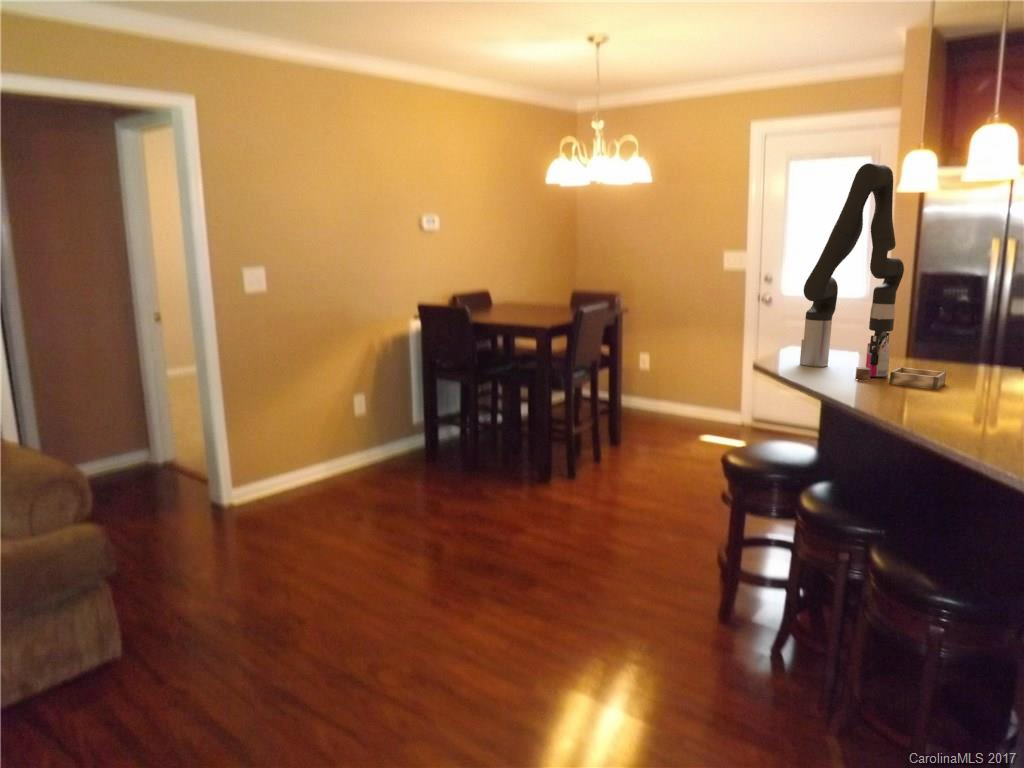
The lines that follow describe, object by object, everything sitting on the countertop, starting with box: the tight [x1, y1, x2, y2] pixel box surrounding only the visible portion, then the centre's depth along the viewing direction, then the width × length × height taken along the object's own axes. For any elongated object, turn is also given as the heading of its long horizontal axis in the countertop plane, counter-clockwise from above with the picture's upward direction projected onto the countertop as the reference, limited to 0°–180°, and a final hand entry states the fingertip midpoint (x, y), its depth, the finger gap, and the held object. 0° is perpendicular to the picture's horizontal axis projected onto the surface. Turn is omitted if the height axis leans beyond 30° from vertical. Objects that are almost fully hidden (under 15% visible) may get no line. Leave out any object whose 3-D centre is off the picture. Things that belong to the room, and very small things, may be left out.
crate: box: [889, 366, 947, 391], centre depth 248 cm, size 14×12×4 cm
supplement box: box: [865, 342, 892, 379], centre depth 260 cm, size 6×6×12 cm
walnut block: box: [855, 366, 871, 381], centre depth 256 cm, size 4×4×4 cm
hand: (877, 363), depth 260 cm, fingers closed on supplement box, 8 cm apart
